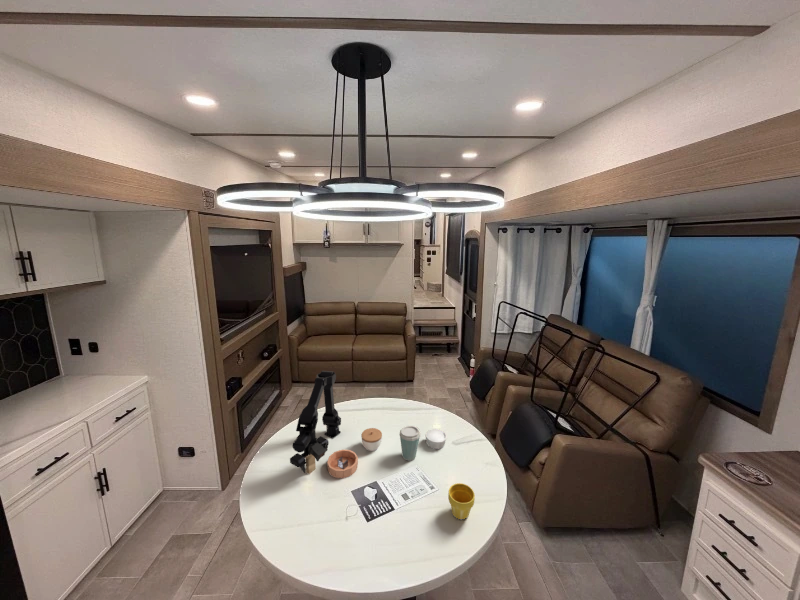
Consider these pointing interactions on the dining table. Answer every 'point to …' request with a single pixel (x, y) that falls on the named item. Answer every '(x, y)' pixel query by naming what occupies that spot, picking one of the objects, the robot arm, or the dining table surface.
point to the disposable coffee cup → (409, 442)
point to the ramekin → (435, 438)
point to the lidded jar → (371, 438)
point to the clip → (341, 464)
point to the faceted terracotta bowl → (347, 455)
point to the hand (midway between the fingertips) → (310, 466)
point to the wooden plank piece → (310, 464)
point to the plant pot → (461, 500)
